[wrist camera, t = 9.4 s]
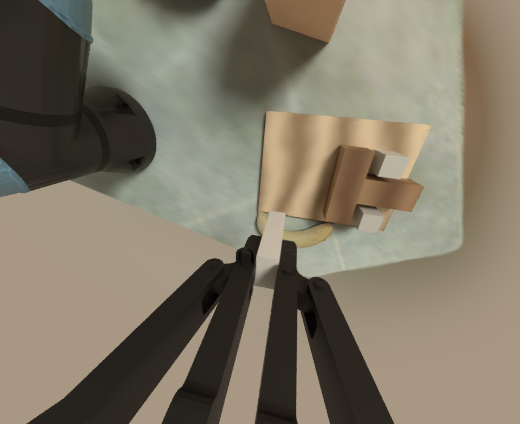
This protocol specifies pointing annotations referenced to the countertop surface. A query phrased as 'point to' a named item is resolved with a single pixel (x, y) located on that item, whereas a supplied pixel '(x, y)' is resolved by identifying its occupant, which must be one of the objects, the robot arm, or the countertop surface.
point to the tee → (364, 187)
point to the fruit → (300, 232)
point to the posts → (381, 166)
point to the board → (322, 157)
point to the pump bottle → (306, 16)
